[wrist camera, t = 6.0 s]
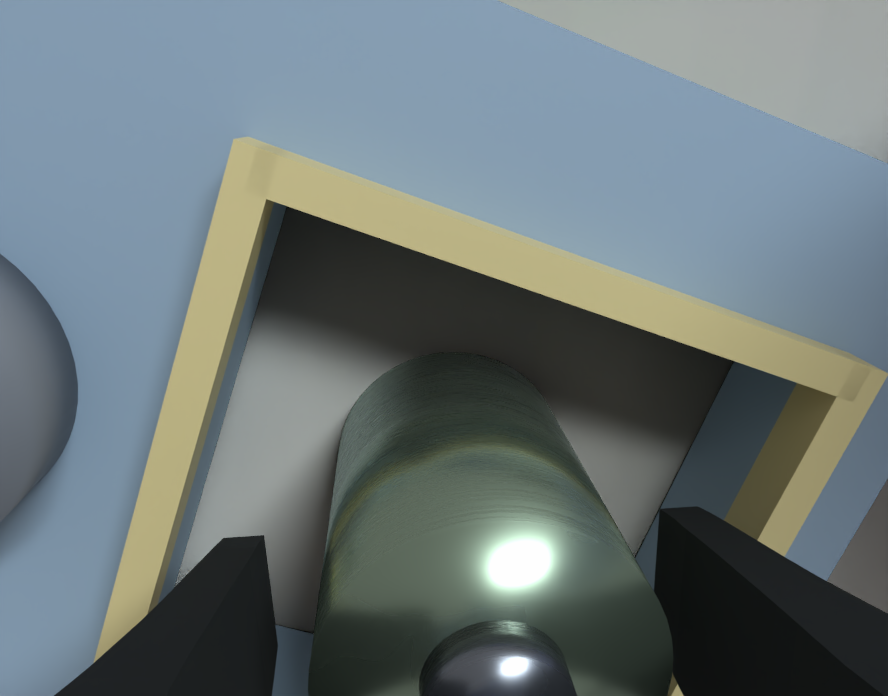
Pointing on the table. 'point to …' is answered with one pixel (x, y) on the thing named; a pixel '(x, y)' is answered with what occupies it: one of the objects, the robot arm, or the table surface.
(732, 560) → the robot arm
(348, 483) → the spout can
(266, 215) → the control panel
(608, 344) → the table surface
